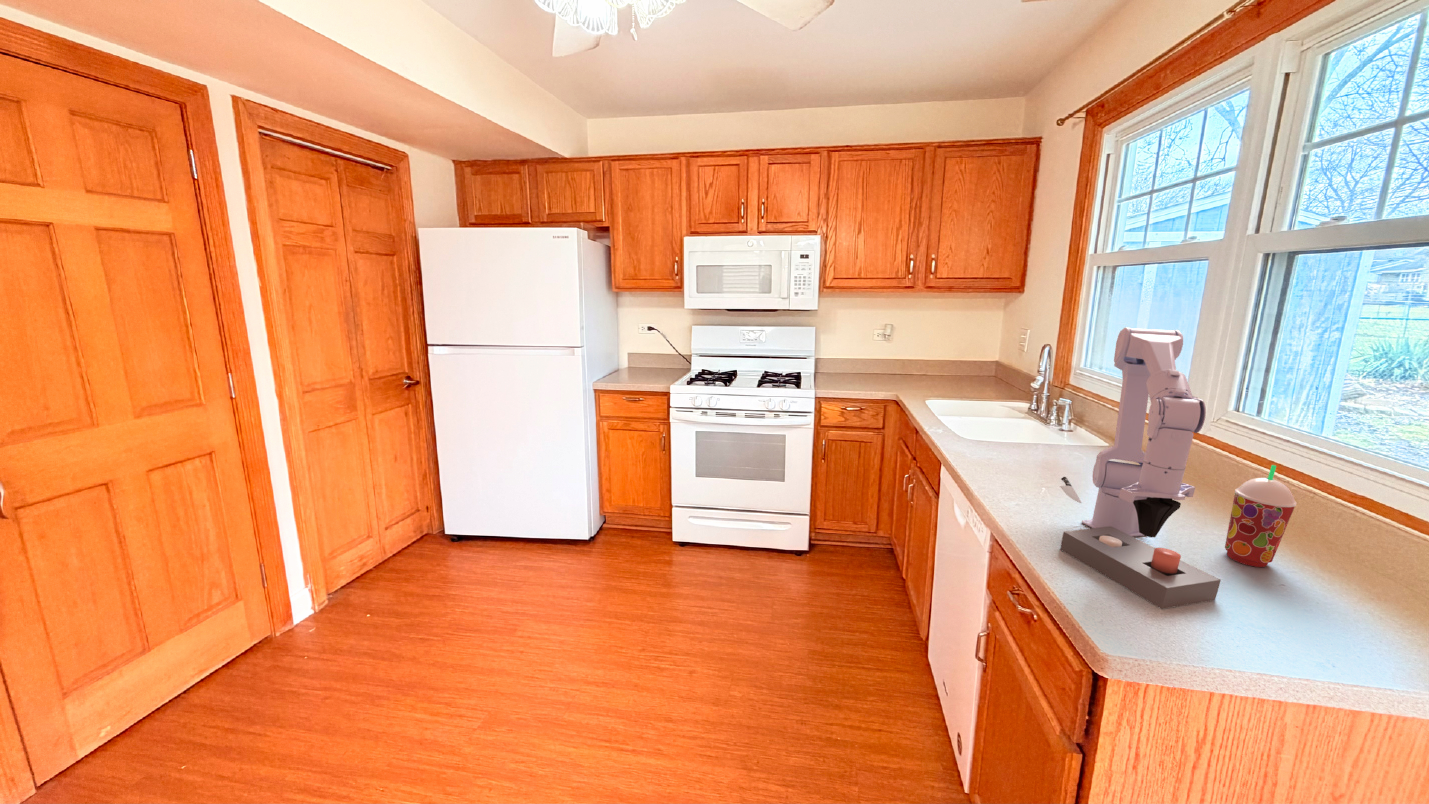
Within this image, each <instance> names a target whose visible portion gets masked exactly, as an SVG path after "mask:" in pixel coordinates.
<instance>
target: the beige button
mask: <svg viewBox="0 0 1429 804" xmlns="http://www.w3.org/2000/svg"><path fill="white" fill-rule="evenodd" d="M1099 541H1101V542H1103V543H1105V544H1107V545H1109V546H1111V547H1120V546H1122V541H1121V540H1119V539H1117V538H1114V537H1111V536H1105V535H1103V536H1100V538H1099Z"/></svg>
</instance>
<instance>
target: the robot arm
mask: <svg viewBox="0 0 1429 804" xmlns="http://www.w3.org/2000/svg"><path fill="white" fill-rule="evenodd" d="M1183 345H1184V335H1183V334H1182V332H1181V331H1180V330H1178V329H1172V330H1169V329H1168V330H1167V329H1166V330H1165V329H1152V328H1151V329H1150V328H1149V329H1147V328H1134V327H1133V328H1132V327H1131V328H1130V327H1126V326H1125V327H1123V329H1121V330H1120V332H1118V335H1117V339H1116V342H1115V350H1114V357H1113V361H1114V365H1113V366H1114V367H1115V368H1117V369H1119V370H1120V371H1121V374H1122V385H1121V391H1120V399H1119V405H1118V413H1117V419H1116V421H1117V422H1116V429H1115V437H1114V443H1113V444H1114V445H1112V446H1110V447H1108V448H1106V449H1103V450H1101V451H1100V452H1098V453H1097V455H1096V459H1095V462H1094V466H1093V468H1092V469H1093V470H1092V483H1093V485H1094V486H1095V487H1096V488H1098V492H1097V496H1096V502H1095V505H1094V509H1093V514H1092V515H1093V516H1092V519H1084V520H1081V523H1082V524H1083V525H1086V526H1087V527H1089V528H1090V529H1091V528H1100V527H1108V526H1111V527H1113V528H1116V529H1118V530H1120V531H1122V532H1124V533H1126V534H1128V535H1130V536H1132V537H1134V538H1136V537H1143V536H1145V537H1148V538H1156V537H1157V535H1158V534H1159V532H1160V531H1161V529H1162V527H1163V526H1164V524H1165V523H1166V521H1167V520H1168V519H1169V518H1170V517H1171V516H1172V515H1173V514H1174V513H1175V512H1176V511H1178V510H1179V509H1180V508H1181V506H1182V505H1181V504H1182V503H1181V502H1179V501H1181V500H1182V501H1184V500H1185V499H1186V497H1187V498H1193V497H1194V493H1195V491H1196V490H1195V489H1196V487H1195V486H1193V485H1190V484H1188V483H1184V482H1183V479H1184V474H1185V471H1186V467H1187V462H1188V459H1189V455H1190V451H1191V447H1192V443H1193V440H1194V433H1195V434H1197V433H1199V432H1200V431H1201V430H1202V429H1203V426H1204V424H1205V421H1206V414H1207V411H1206V410H1207V409H1206V404H1205V401H1204V400H1203V399H1202V398H1199V397H1198V396H1194V395H1193V393H1192V391H1191V387H1190V385H1189V382H1188V379H1187V376H1186V375H1185V374H1184V373H1183V372H1181V371H1179V370H1177V367H1176V360H1177V358H1178V357H1180V355H1181V352H1182V350H1183ZM1149 400H1150V406H1149V409H1148V402H1149ZM1147 409H1148V417H1147V418H1148V419H1147V420H1148V421H1147V422H1148V423H1147V430H1146V435H1147V436H1148V440H1147V443H1146V447H1145V452H1144V450H1143V449H1142V448H1143V441H1144V433H1145V425H1146V416H1147ZM1115 460H1119V461H1115ZM1122 461H1128V462H1133V463H1134V464H1133V463H1128V462H1122ZM1135 463H1137V464H1135Z"/></svg>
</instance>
